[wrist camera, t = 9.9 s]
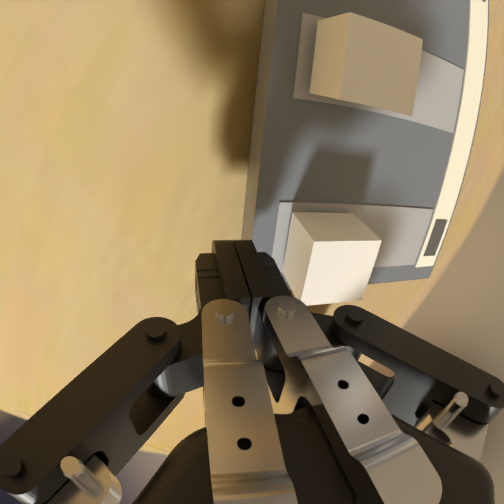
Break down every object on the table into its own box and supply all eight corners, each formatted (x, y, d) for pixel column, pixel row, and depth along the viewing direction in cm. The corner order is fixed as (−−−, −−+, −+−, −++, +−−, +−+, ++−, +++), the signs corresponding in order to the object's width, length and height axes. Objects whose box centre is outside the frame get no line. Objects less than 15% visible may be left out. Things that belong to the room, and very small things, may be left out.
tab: (291, 212, 13) (314, 241, 11) (353, 213, 14) (381, 240, 12) (282, 271, 15) (299, 306, 13) (339, 268, 16) (361, 299, 13)
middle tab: (317, 20, 9) (349, 12, 7) (383, 39, 10) (422, 39, 8) (309, 93, 11) (339, 99, 9) (375, 105, 11) (412, 116, 9)
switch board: (280, -124, 6) (293, -142, 4) (464, -44, 9) (487, -47, 7) (238, 270, 17) (246, 295, 16) (412, 261, 20) (430, 279, 18)
